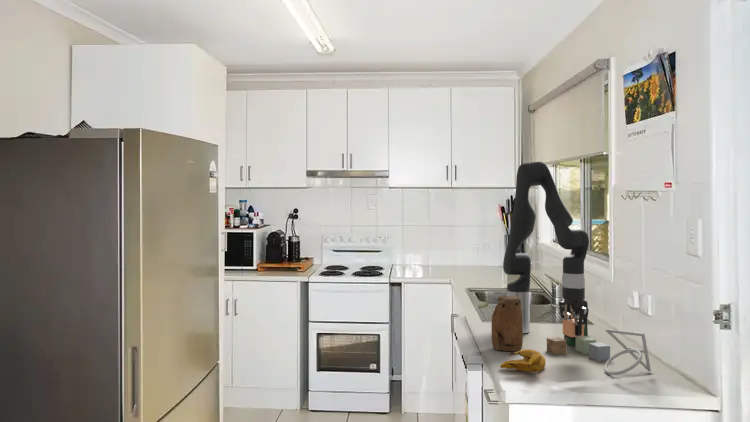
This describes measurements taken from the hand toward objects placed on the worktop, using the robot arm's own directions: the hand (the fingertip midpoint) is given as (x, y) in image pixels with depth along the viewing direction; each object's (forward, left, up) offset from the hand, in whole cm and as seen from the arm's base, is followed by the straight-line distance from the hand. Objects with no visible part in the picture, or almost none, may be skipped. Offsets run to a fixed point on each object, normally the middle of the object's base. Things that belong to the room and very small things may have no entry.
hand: (573, 333), depth 184 cm
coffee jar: (-18, +14, -9) cm, 24 cm away
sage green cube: (-8, +11, -9) cm, 16 cm away
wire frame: (+20, +10, -12) cm, 25 cm away
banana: (+3, -22, -10) cm, 24 cm away
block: (-18, -16, -9) cm, 26 cm away
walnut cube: (-10, 0, -9) cm, 13 cm away
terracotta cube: (0, 0, -1) cm, 1 cm away
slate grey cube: (+1, +10, -9) cm, 13 cm away
